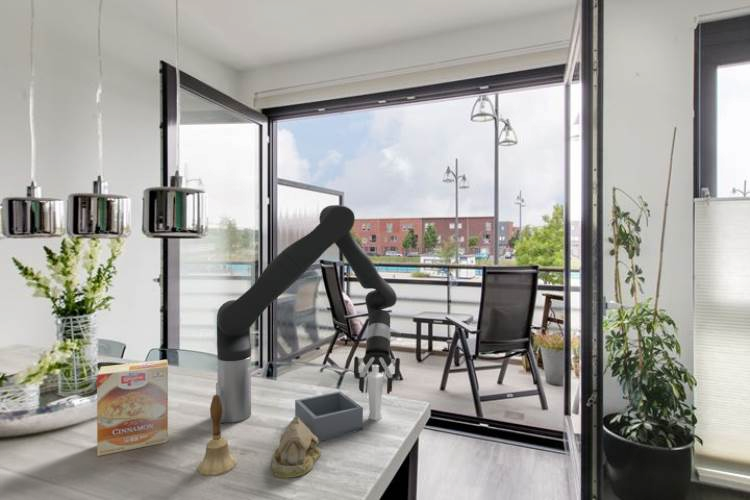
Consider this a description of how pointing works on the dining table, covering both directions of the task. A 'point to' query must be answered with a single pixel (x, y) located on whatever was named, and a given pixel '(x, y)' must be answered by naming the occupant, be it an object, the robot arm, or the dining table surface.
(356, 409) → the tote
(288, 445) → the ceramic model
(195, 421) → the dining table surface
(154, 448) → the dining table surface
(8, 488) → the dining table surface
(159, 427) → the coffeecake box
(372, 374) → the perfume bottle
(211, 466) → the hand bell
